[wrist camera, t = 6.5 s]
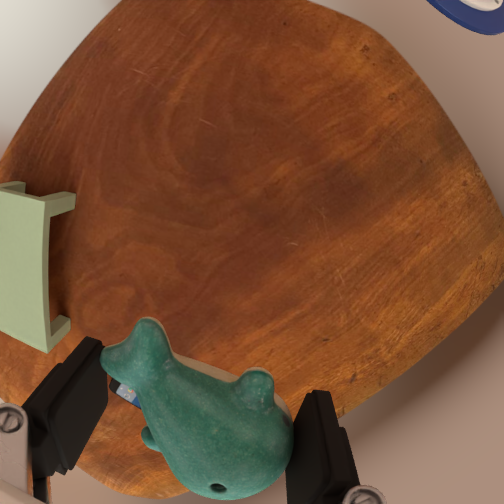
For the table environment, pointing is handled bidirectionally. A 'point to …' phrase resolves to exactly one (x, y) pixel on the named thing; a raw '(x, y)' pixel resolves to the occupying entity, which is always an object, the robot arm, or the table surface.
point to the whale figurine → (204, 415)
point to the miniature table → (28, 265)
